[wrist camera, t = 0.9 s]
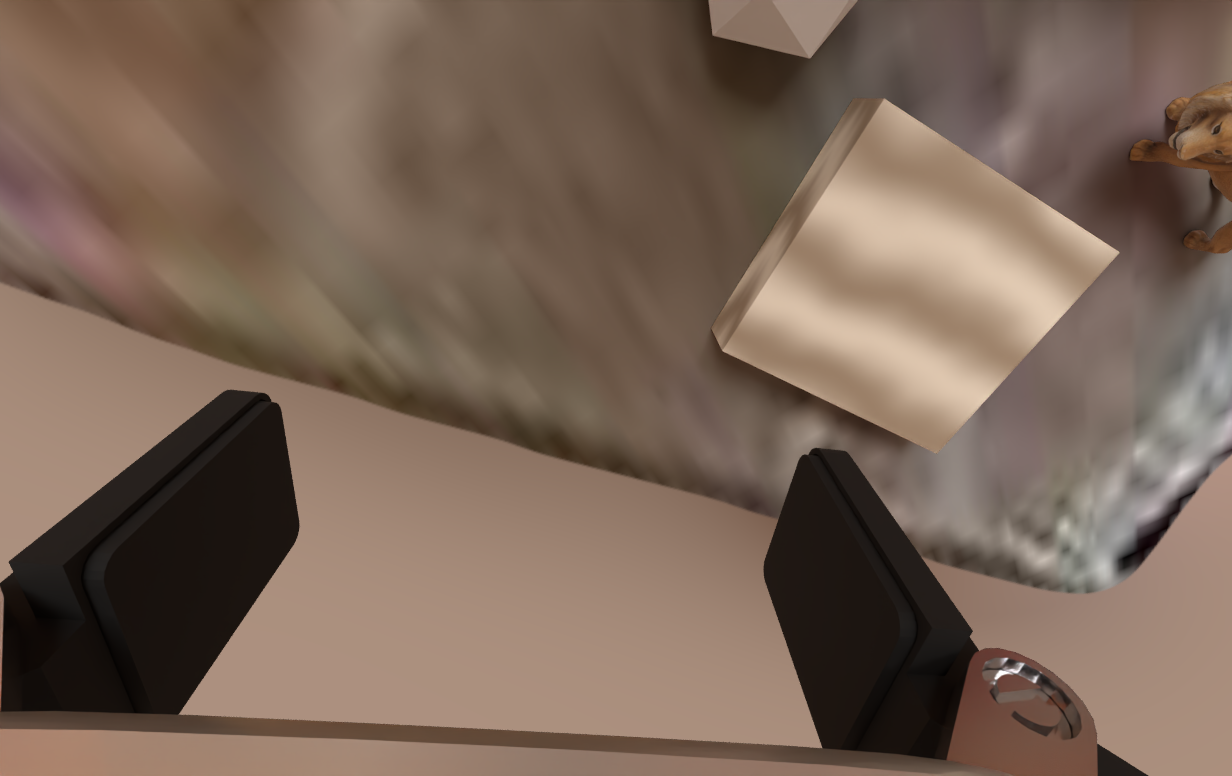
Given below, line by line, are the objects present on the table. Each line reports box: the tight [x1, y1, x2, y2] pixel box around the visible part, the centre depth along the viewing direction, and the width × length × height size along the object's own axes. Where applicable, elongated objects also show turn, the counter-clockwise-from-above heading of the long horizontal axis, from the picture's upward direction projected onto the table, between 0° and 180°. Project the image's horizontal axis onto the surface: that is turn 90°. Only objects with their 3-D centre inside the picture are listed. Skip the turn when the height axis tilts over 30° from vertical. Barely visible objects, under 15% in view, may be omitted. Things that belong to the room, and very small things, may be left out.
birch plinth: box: [711, 98, 1120, 454], centre depth 36 cm, size 16×18×4 cm
